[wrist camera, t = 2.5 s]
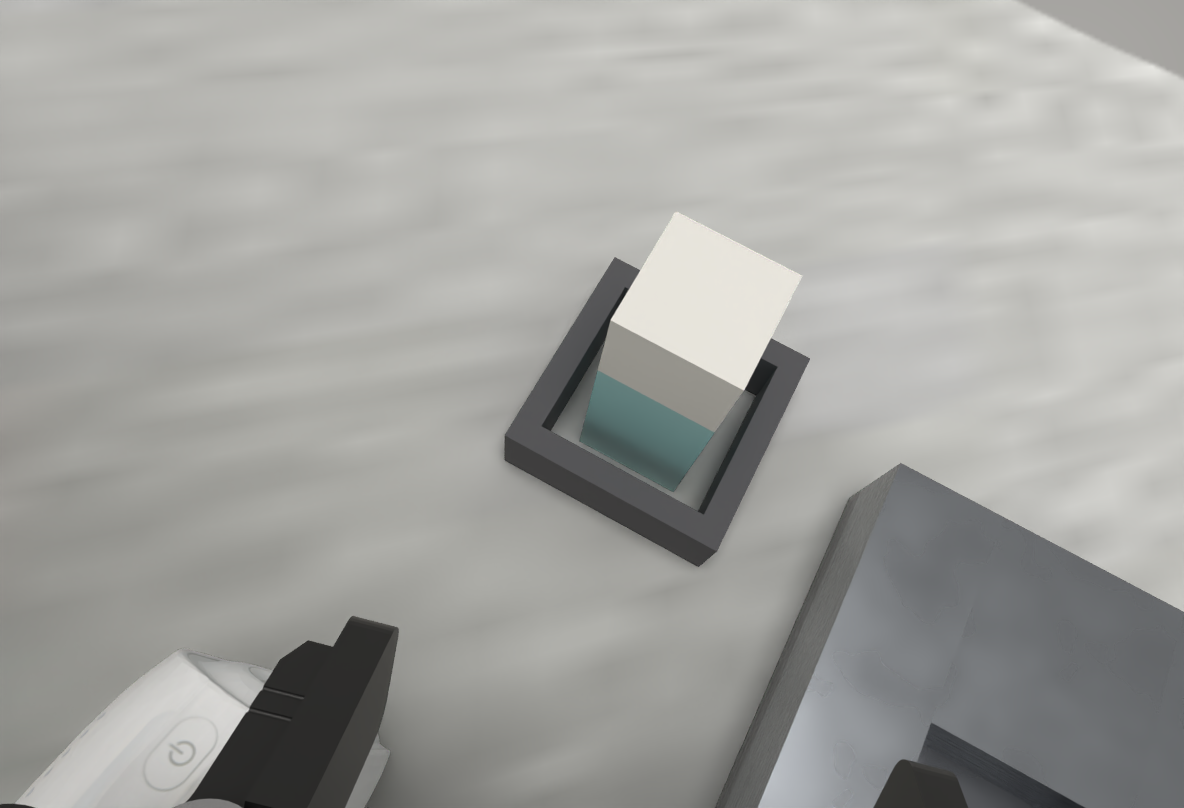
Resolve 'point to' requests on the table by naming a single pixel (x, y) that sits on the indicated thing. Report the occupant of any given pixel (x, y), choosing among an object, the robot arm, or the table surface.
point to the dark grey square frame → (614, 487)
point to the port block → (967, 668)
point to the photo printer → (165, 739)
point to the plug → (683, 349)
